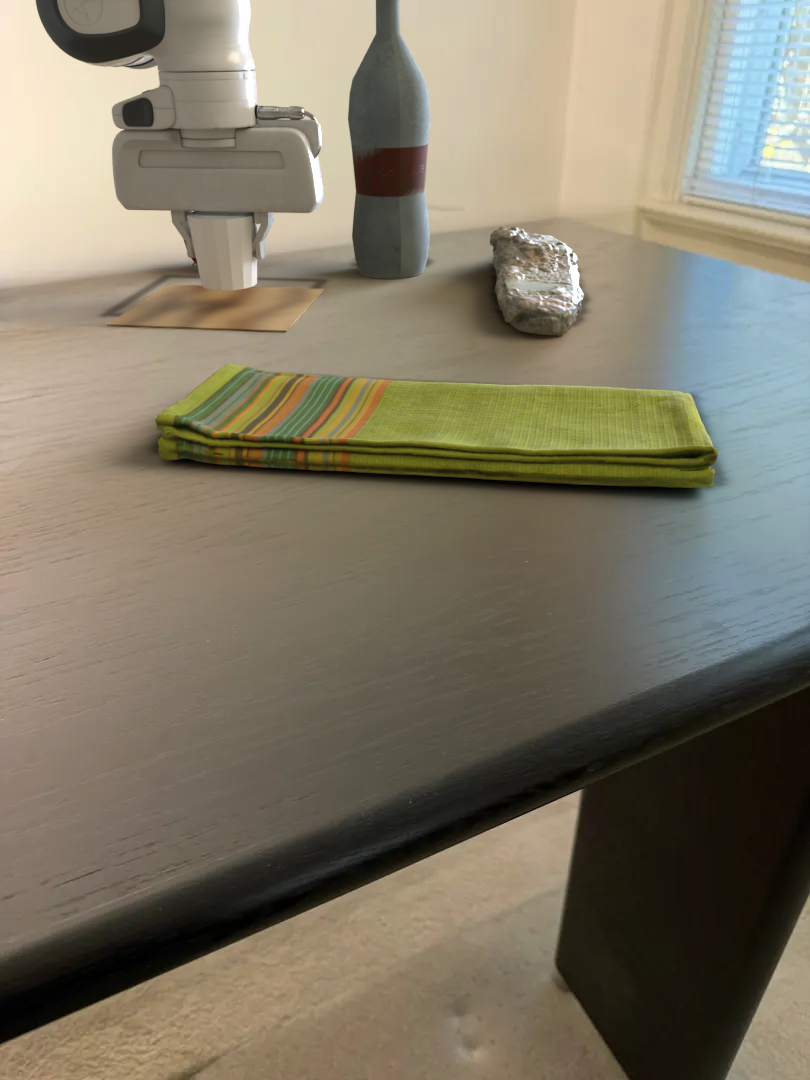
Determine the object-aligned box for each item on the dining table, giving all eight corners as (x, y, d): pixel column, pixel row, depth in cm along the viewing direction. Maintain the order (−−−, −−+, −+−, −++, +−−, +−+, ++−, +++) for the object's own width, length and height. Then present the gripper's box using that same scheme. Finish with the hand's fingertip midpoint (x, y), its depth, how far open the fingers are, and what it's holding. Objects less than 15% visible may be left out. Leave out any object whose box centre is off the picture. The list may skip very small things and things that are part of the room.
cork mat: (107, 325, 87) (107, 324, 87) (168, 285, 100) (168, 284, 100) (286, 332, 84) (286, 330, 84) (323, 290, 98) (323, 288, 98)
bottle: (356, 262, 110) (347, -24, 95) (430, 262, 110) (432, -25, 95) (349, 280, 102) (338, -29, 87) (429, 280, 102) (431, -30, 87)
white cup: (216, 295, 87) (208, 221, 83) (183, 282, 91) (174, 211, 88) (276, 284, 91) (270, 212, 87) (241, 272, 95) (235, 203, 92)
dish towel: (229, 385, 71) (224, 346, 70) (686, 407, 66) (693, 366, 65) (153, 465, 58) (145, 419, 57) (716, 500, 53) (726, 451, 52)
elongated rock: (484, 351, 83) (591, 359, 82) (489, 295, 80) (600, 303, 80) (487, 250, 112) (566, 256, 112) (491, 207, 109) (572, 212, 109)
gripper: (326, 103, 84) (333, 253, 91) (122, 103, 87) (144, 248, 94) (311, 108, 79) (320, 267, 86) (94, 107, 81) (119, 262, 88)
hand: (226, 257), depth 90 cm, fingers closed on white cup, 5 cm apart
